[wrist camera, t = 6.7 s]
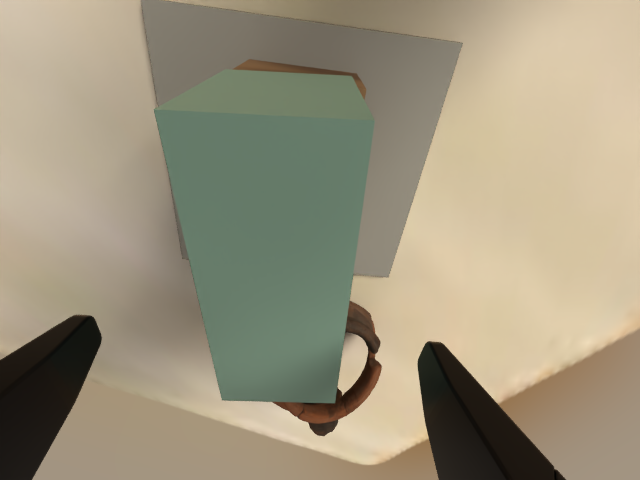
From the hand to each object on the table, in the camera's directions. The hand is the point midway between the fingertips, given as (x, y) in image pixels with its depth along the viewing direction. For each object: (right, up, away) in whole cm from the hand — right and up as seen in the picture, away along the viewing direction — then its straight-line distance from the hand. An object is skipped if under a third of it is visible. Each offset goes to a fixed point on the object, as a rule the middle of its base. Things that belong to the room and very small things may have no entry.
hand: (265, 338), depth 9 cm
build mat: (0, +7, +9) cm, 12 cm away
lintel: (0, +4, +6) cm, 7 cm away
